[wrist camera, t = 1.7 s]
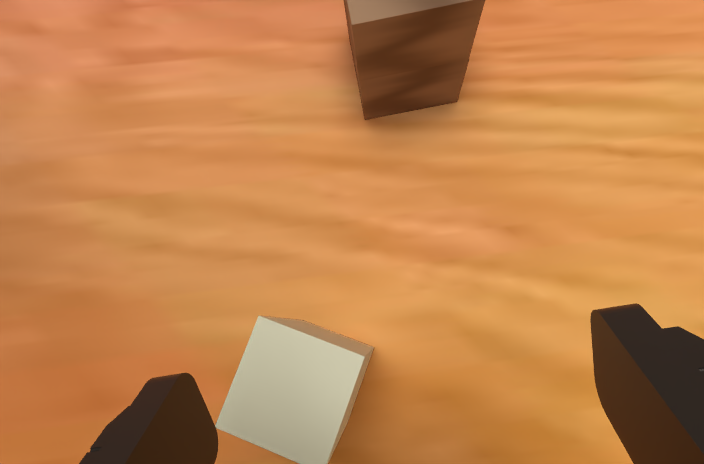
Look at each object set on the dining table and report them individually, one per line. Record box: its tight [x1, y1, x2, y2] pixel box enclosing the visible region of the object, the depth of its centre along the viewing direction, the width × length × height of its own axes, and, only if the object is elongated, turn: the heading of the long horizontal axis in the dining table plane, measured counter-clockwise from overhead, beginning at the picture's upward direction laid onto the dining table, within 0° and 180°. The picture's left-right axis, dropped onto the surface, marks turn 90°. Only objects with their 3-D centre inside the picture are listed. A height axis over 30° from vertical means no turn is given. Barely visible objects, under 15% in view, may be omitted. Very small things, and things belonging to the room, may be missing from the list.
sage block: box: [215, 316, 374, 464], centre depth 24 cm, size 4×4×10 cm
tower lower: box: [345, 10, 469, 120], centre depth 29 cm, size 6×6×5 cm
